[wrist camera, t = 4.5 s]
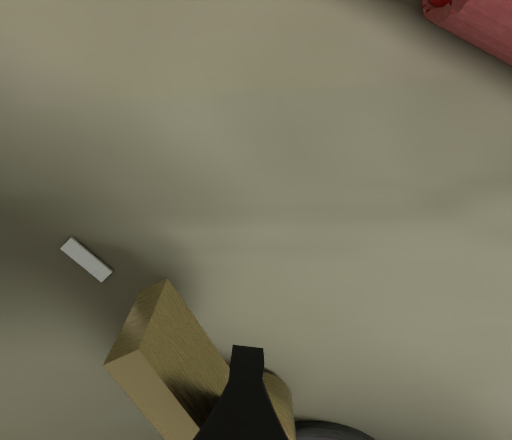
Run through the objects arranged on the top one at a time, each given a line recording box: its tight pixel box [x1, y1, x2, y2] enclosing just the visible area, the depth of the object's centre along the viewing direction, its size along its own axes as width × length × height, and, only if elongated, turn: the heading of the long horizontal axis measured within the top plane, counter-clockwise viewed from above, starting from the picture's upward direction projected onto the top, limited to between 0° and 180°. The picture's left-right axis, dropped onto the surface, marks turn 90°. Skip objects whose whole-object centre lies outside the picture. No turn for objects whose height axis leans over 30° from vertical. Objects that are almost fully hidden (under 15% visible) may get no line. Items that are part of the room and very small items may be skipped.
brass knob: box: [103, 278, 297, 440], centre depth 13 cm, size 8×3×5 cm, turn 28°
